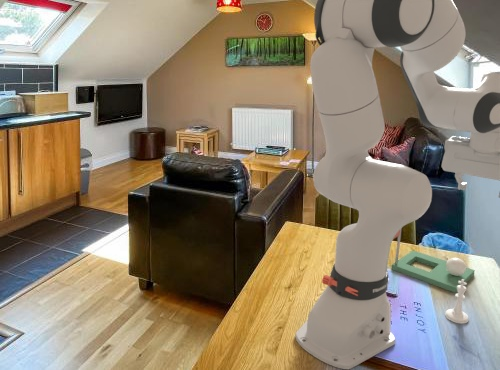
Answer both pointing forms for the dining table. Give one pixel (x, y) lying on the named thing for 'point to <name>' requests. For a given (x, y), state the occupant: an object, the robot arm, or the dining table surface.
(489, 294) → the dining table surface
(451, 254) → the dining table surface
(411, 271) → the putting mat
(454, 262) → the ball
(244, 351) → the dining table surface
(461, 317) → the chess piece
